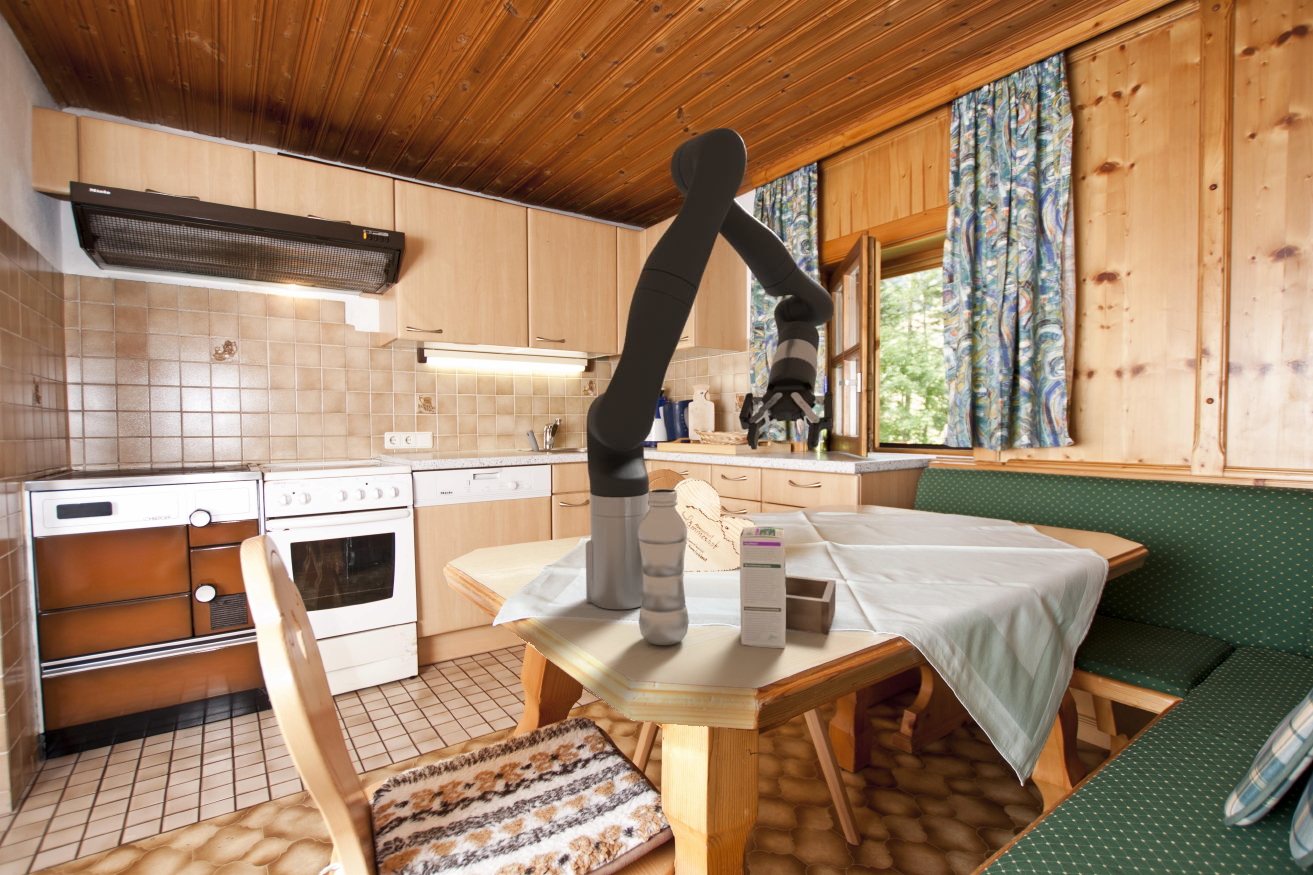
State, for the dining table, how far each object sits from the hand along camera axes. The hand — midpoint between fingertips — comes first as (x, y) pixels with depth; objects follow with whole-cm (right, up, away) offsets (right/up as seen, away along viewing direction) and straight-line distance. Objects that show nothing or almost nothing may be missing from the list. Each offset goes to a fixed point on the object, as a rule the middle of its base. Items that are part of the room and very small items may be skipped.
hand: (781, 446), depth 87 cm
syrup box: (-5, -26, -10) cm, 28 cm away
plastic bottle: (-18, -26, -11) cm, 33 cm away
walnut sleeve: (+2, -25, -3) cm, 25 cm away
